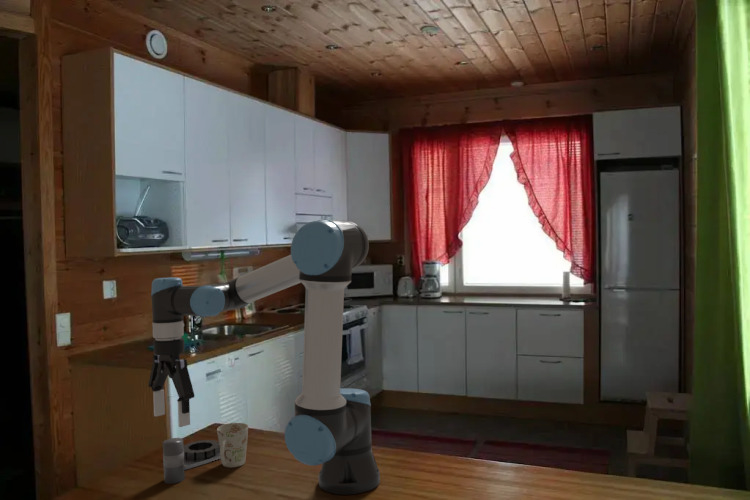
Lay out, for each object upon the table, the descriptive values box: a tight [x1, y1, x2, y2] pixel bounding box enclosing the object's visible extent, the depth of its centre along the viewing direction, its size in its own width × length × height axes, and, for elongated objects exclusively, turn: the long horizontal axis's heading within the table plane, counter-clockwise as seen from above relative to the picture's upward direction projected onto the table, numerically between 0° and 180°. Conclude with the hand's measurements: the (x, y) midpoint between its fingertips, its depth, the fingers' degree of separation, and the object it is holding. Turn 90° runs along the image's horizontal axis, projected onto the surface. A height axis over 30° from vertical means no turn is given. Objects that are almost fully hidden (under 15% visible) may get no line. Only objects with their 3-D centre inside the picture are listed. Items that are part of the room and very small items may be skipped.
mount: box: [183, 439, 221, 471], centre depth 173 cm, size 12×16×3 cm
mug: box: [216, 422, 249, 468], centre depth 165 cm, size 8×13×10 cm, turn 174°
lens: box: [162, 437, 186, 485], centre depth 157 cm, size 5×5×10 cm
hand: (171, 420), depth 157 cm, fingers open, 13 cm apart
